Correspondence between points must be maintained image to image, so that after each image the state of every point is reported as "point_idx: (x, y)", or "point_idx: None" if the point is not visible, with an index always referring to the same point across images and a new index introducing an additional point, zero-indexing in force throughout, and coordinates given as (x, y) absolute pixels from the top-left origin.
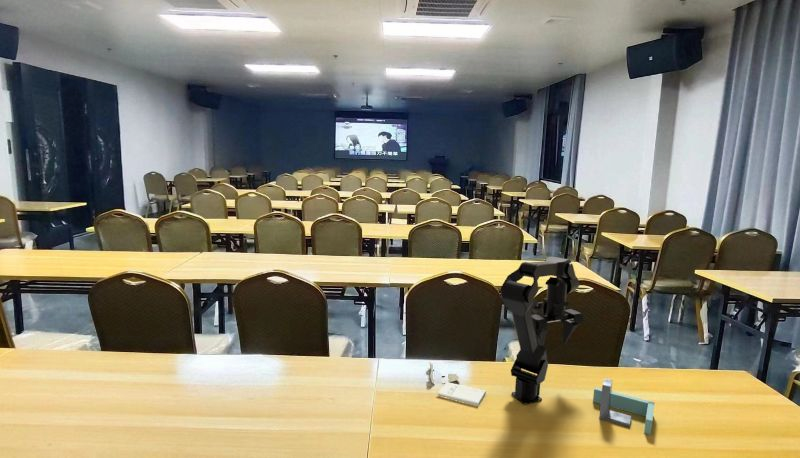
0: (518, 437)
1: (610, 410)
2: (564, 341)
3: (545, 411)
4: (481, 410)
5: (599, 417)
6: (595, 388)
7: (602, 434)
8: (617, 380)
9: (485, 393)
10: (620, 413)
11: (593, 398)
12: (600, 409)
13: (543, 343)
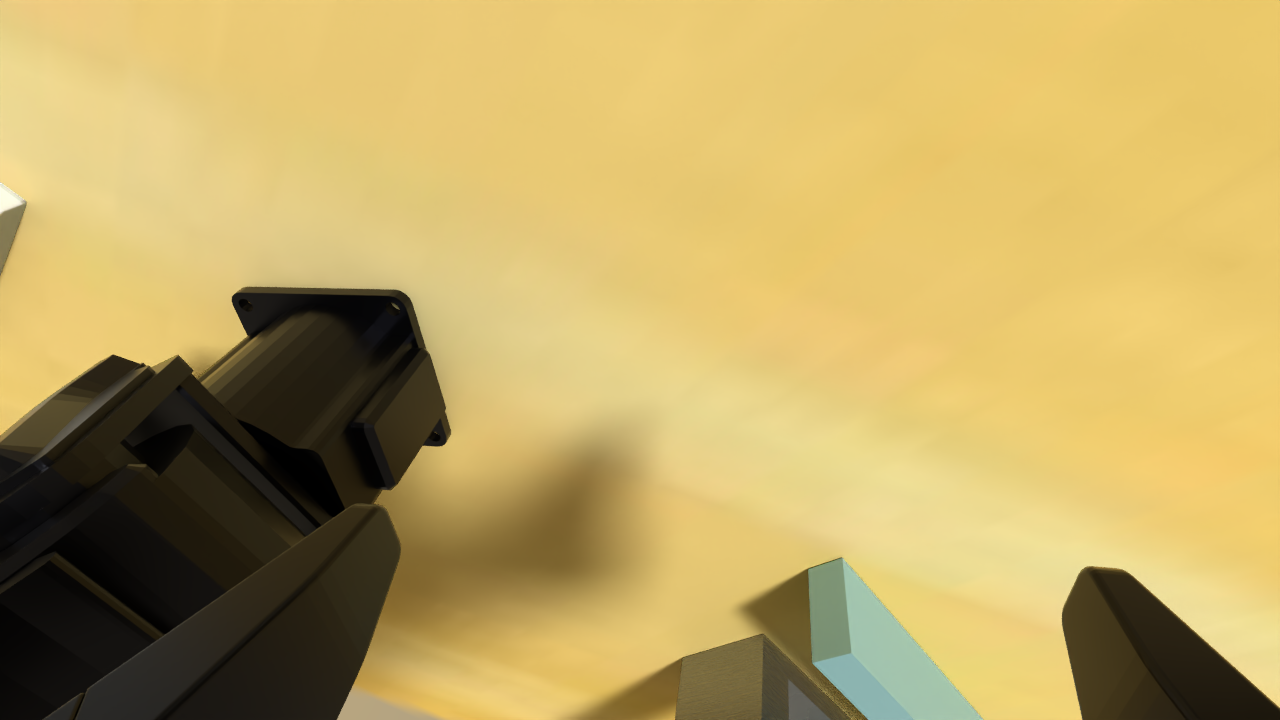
0: None
1: (789, 682)
2: (1075, 660)
3: (415, 515)
4: (6, 367)
5: (682, 665)
6: (831, 663)
7: (594, 708)
8: None
9: (13, 215)
10: (817, 712)
11: (810, 592)
12: (677, 716)
13: (343, 669)
